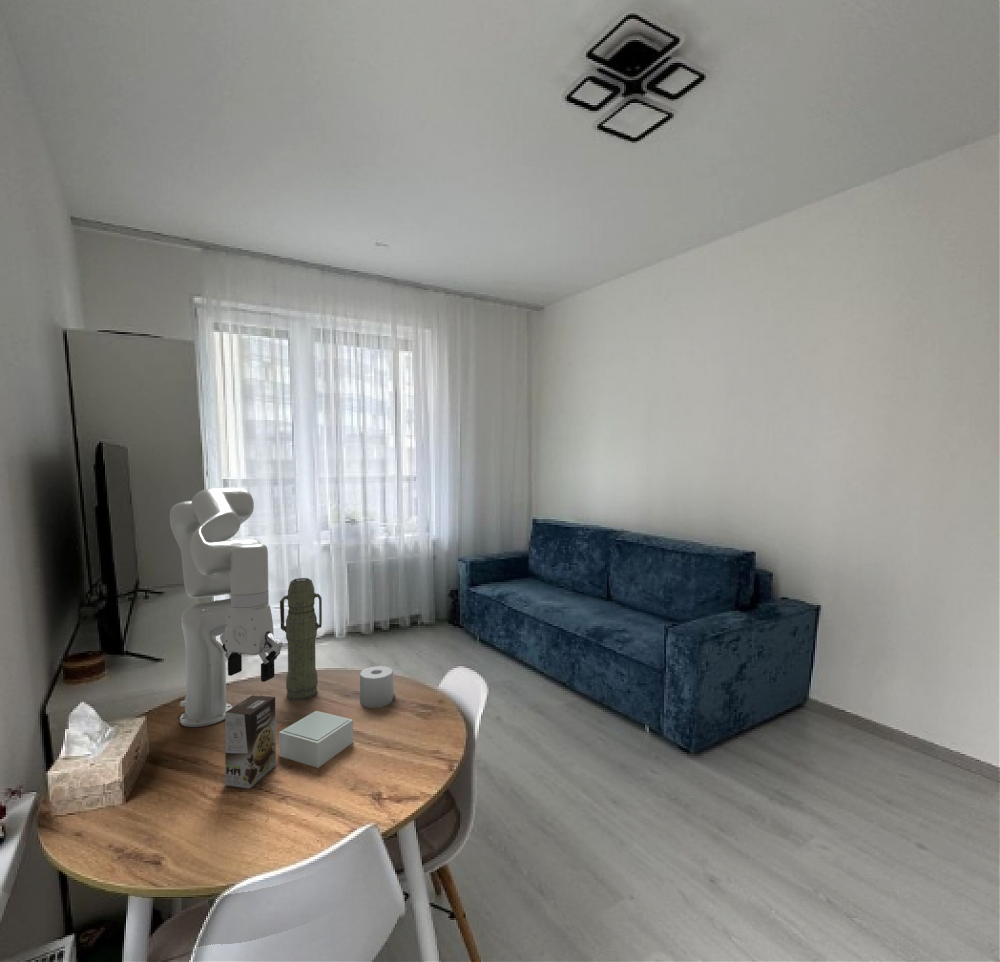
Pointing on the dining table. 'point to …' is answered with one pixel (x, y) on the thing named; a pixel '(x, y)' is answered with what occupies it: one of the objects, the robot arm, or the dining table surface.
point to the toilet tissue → (376, 686)
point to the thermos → (301, 638)
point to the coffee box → (250, 741)
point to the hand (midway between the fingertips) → (251, 676)
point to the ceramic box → (316, 738)
